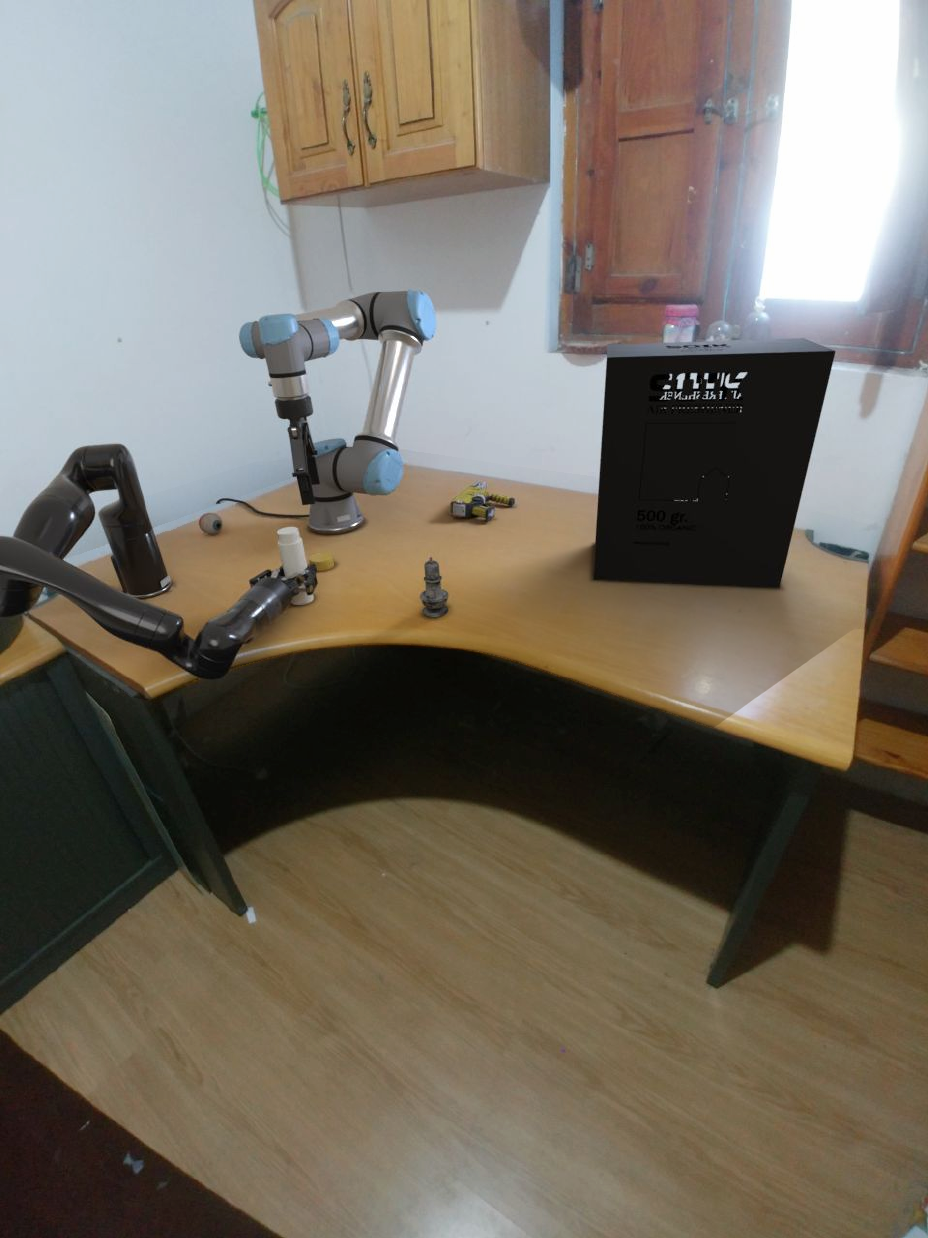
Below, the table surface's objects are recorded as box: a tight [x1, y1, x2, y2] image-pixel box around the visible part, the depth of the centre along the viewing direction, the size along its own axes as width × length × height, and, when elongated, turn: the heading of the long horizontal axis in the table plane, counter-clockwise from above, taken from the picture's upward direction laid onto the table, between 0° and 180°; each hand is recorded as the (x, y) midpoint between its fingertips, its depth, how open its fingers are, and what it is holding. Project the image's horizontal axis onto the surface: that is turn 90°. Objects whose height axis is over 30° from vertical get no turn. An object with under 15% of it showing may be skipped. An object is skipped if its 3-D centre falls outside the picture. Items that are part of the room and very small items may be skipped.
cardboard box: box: [592, 337, 836, 589], centre depth 125 cm, size 38×20×45 cm, turn 78°
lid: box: [308, 551, 335, 572], centre depth 145 cm, size 6×6×2 cm
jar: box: [276, 526, 315, 606], centre depth 127 cm, size 5×5×16 cm
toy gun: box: [449, 480, 516, 522], centre depth 174 cm, size 5×24×15 cm
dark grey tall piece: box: [419, 556, 450, 618], centre depth 120 cm, size 6×6×12 cm
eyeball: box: [198, 512, 223, 536], centre depth 167 cm, size 6×6×6 cm
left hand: (301, 566), depth 130 cm, fingers open, 5 cm apart
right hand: (311, 493), depth 138 cm, fingers open, 13 cm apart
